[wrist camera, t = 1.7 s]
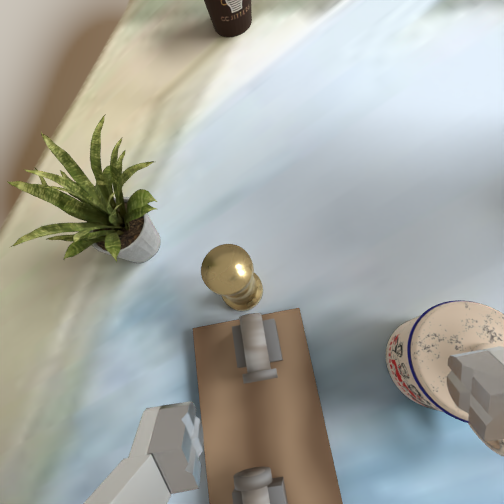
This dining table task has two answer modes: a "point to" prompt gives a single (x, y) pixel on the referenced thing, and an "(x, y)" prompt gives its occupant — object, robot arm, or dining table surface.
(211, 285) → the brass door knob
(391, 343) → the teacup with lid
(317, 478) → the shaft rig
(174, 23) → the dining table surface
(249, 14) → the coffee mug
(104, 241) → the house plant
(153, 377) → the dining table surface
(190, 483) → the robot arm
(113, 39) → the dining table surface
